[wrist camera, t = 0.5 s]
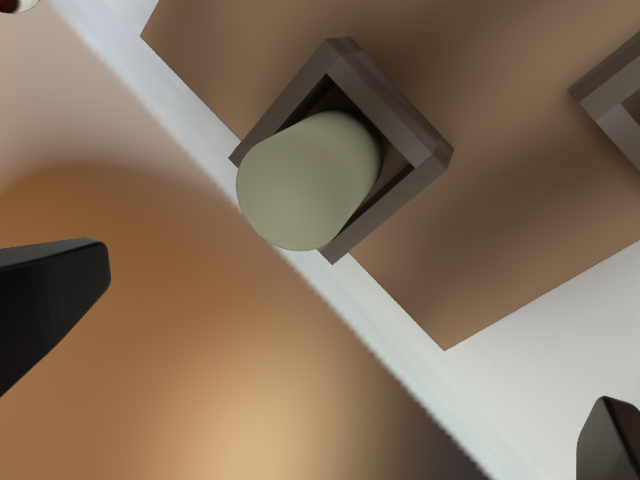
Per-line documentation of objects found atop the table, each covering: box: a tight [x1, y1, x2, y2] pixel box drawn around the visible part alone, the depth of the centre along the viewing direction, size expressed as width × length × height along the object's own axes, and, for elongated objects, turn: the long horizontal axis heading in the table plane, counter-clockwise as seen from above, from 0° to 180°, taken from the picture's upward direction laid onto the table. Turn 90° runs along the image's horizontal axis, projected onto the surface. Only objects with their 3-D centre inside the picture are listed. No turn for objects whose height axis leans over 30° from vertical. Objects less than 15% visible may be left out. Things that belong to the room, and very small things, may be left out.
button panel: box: [140, 0, 640, 351], centre depth 15 cm, size 19×16×4 cm
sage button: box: [236, 108, 384, 251], centre depth 15 cm, size 3×3×4 cm
